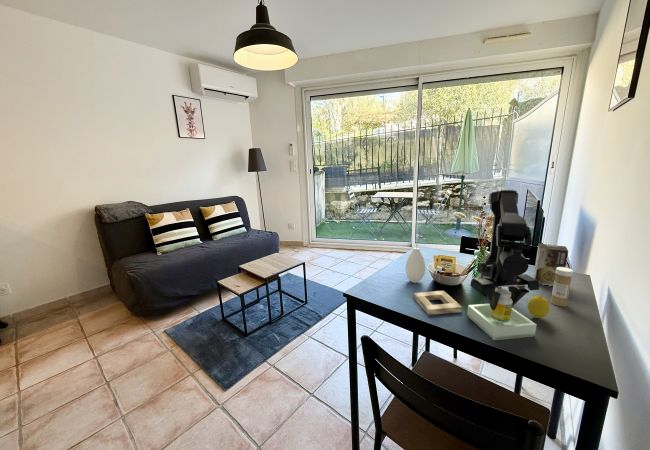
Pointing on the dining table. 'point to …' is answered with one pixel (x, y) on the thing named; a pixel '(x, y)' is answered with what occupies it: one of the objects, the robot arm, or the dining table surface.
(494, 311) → the supplement bottle
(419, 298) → the socket block
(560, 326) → the dining table surface
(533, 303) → the lemon
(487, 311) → the tray
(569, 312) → the dining table surface
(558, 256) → the coffee box
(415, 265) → the sauce bottle
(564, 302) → the sprinkles bottle
